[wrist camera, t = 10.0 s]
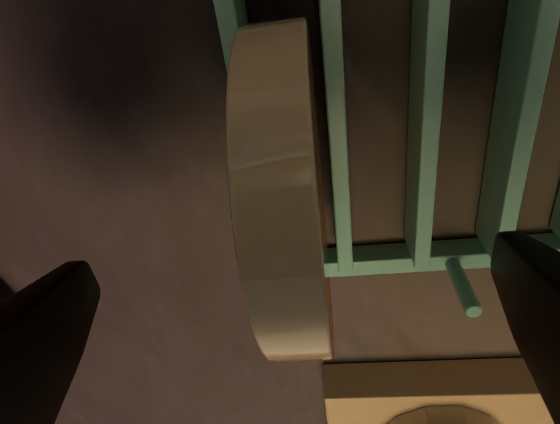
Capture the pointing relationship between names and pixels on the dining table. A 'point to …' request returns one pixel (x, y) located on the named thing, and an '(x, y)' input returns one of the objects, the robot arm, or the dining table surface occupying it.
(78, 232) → the dining table surface
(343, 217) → the rack
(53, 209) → the dining table surface
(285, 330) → the plate
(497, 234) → the robot arm
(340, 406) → the panel
